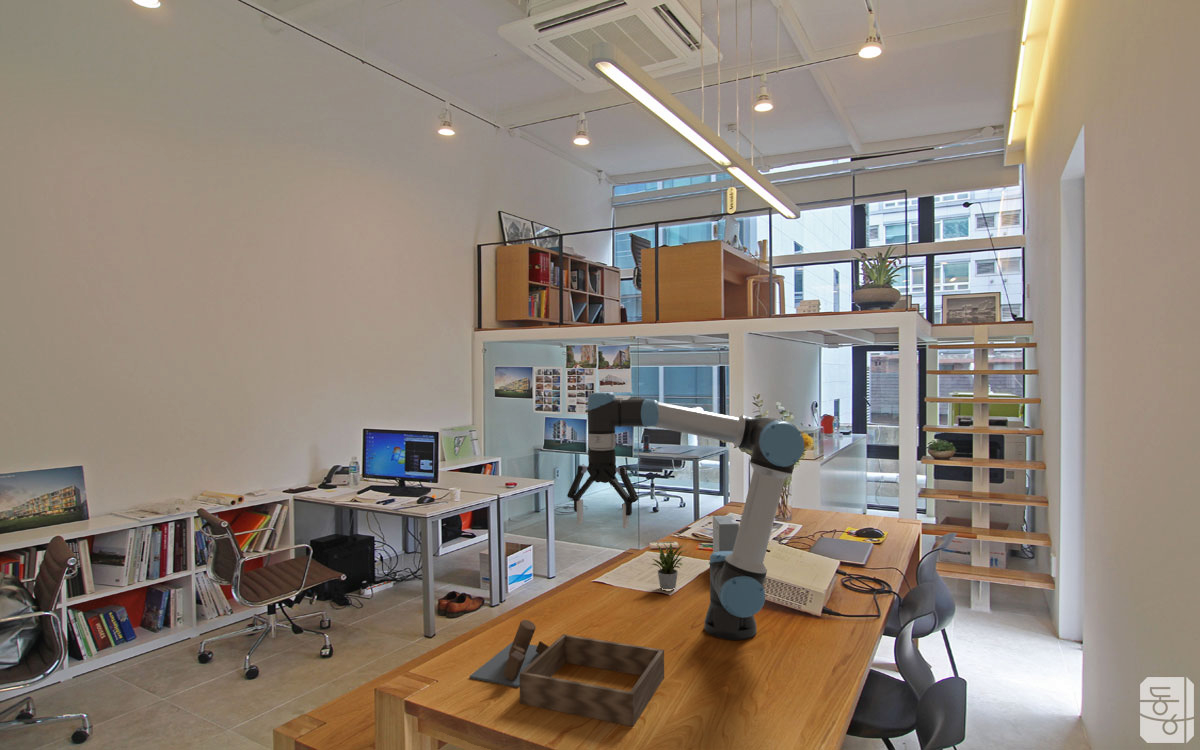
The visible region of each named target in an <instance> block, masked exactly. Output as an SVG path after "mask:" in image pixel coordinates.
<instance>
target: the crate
mask: <svg viewBox="0 0 1200 750" xmlns="http://www.w3.org/2000/svg"><path fill="white" fill-rule="evenodd" d="M565 663H567V664H573V665H578V666H582V667H588V668H596V669H600V670H601V669H602V670H606V671H607V670H608V671H613V672H619V673H624V674H630V675H637V676H640V677H639V678H638V679H637V680H636V683H635V684H634V685H633V687H632V688H631V689H630V691H628V690H623V689H619V688H612V687H607V686H601V685H596V684H591V683H585V682H580V681H574V680H569V679H563V678H560V677H559V678H557V677H553V675H554V674H555V673H556V672H557V671H558V670H559V669H560V668H562V666H564V664H565ZM664 678H665V650H664V649H661V648H656V647H655V648H654V647H647V646H642V645H641V646H640V645H633V644H629V643H621V642H617V641H616V642H614V641H610V640H609V641H608V640H602V639H595V638H590V637H583V636H577V635H571V634H570V635H569V634H564V633H563V634H561V635H560V636H559V638H557V639H556V640H555V641H554V642H553V643H552V644H551V645H550V646H549V647H548V648H547V649H546V650H545V651H544V652H543V653H542V654H541V655H540V656H538V657H537V658H536V659H535V660H534V661H533V662H532V663H531V664H530V665H528V666H527V667H526V668H525V669H524V670H523V671H522V672H521V673H520V687H519V704H521V705H525V706H531V707H537V708H540V709H547V710H551V711H556V712H560V713H566V714H569V715H570V714H571V715H575V716H578V717H585V718H589V719H590V718H591V719H596V720H599V721H605V722H610V723H613V724H614V723H615V724H619V725H624V726H629V727H634V726H635V724H636V723H637V721H638V720H639V718H640V717H641V715H642V714H643V712H644V710H645V709H646V707H647V705H648V704H649V703H650V701H651V699H652V698H653V696H654V695H655V693H656V692H657V690H658V688H659V687H660V685H661V684H662V682H663V680H664ZM648 702H649V703H648Z"/></svg>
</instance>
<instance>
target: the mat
mask: <svg viewBox="0 0 1200 750" xmlns="http://www.w3.org/2000/svg"><path fill="white" fill-rule="evenodd" d="M512 643H513V641H512V642H511V643H510V644H508V645H506V646H505V647H504V648H503V649H501V651H499V652H498V653H497V654H495V655H494V656H492V658H490V659H489V660H488V661H486V662H485V663H484V664H483V665H481V666H480V667H479V668H478V669H477V670H475V671H474V672H473V673H472V674H470V675H469V679H472V680H476V679H477V681H481V680H482V682H487V683H493V684H497V683H498V684H497V685H503V686H507V687H512V688H513V687H514V688H519V689H520V673H521V672H522V671H523V670H524V669H525V668H526V667H527V666H528V665H530V664H531V663H532V662H533V661H534V660H535V659H536V658H537V657H538V656H540V654H539V653H537V652H536V649H537V646H538V645H534V644H531V643H530V644H529V647H528V649H527V652H526V655H525V659H524V662H523V664H522V667H521V669H520V672H519V674H518V676H517V677H516V678H515V679H514V680H513V681H511V680H509V679H508V678H506V677H505V676H503V673H504V670H505V668H506V663H507V660H508V658H509V651H510V649H511V646H512ZM488 681H489V682H488Z"/></svg>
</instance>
